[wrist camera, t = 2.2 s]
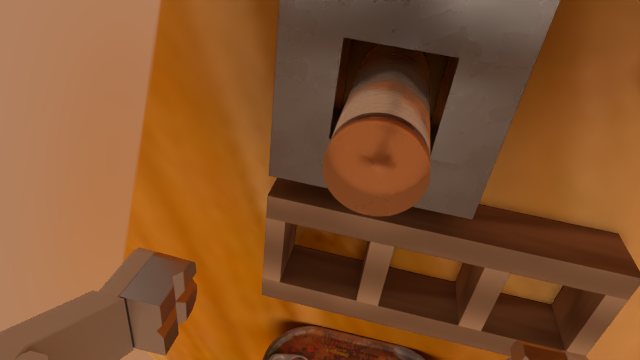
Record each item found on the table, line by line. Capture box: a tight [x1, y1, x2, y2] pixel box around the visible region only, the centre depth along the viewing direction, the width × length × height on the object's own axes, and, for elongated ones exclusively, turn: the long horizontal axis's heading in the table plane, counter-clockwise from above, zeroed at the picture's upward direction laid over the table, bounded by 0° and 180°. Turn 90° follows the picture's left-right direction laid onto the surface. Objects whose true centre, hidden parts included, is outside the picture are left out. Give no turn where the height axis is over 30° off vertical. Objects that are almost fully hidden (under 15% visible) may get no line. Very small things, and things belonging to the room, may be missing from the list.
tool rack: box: [262, 178, 640, 356], centre depth 30 cm, size 9×22×4 cm, turn 83°
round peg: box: [322, 44, 430, 216], centre depth 21 cm, size 4×4×11 cm
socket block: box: [269, 0, 560, 219], centre depth 24 cm, size 12×12×4 cm
